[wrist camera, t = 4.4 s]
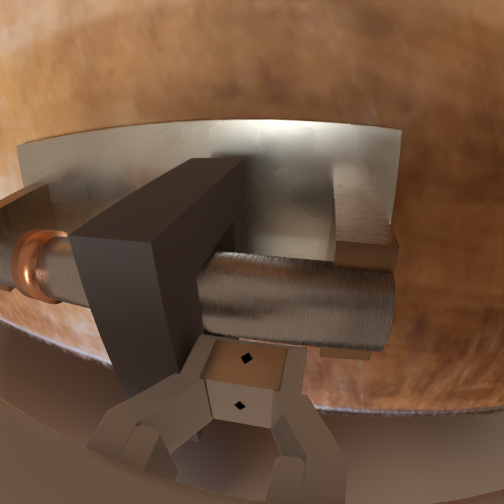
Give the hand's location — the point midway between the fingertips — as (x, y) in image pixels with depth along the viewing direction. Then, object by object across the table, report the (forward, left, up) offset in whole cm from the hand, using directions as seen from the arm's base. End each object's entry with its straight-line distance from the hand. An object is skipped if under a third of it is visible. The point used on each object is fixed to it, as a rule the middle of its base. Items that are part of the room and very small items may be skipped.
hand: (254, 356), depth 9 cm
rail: (+7, 0, -9) cm, 12 cm away
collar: (+3, 0, -7) cm, 7 cm away
